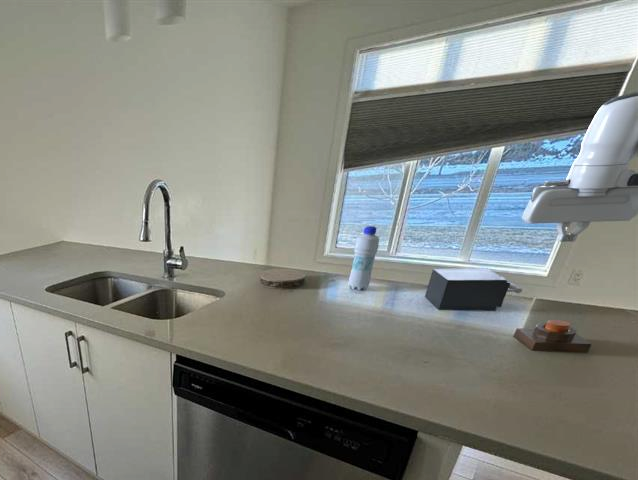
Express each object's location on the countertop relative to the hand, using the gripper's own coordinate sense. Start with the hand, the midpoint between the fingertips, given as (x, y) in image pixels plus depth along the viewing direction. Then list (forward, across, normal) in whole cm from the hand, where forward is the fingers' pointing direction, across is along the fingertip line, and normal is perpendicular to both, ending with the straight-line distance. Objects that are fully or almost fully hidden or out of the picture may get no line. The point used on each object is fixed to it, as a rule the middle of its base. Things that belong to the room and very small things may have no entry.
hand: (565, 241), depth 99 cm
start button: (+15, -6, -21) cm, 26 cm away
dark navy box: (+19, -15, +7) cm, 25 cm away
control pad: (+19, -6, -21) cm, 29 cm away
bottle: (+19, -39, +21) cm, 48 cm away
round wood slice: (+19, -63, +28) cm, 71 cm away
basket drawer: (+18, -11, +7) cm, 22 cm away
